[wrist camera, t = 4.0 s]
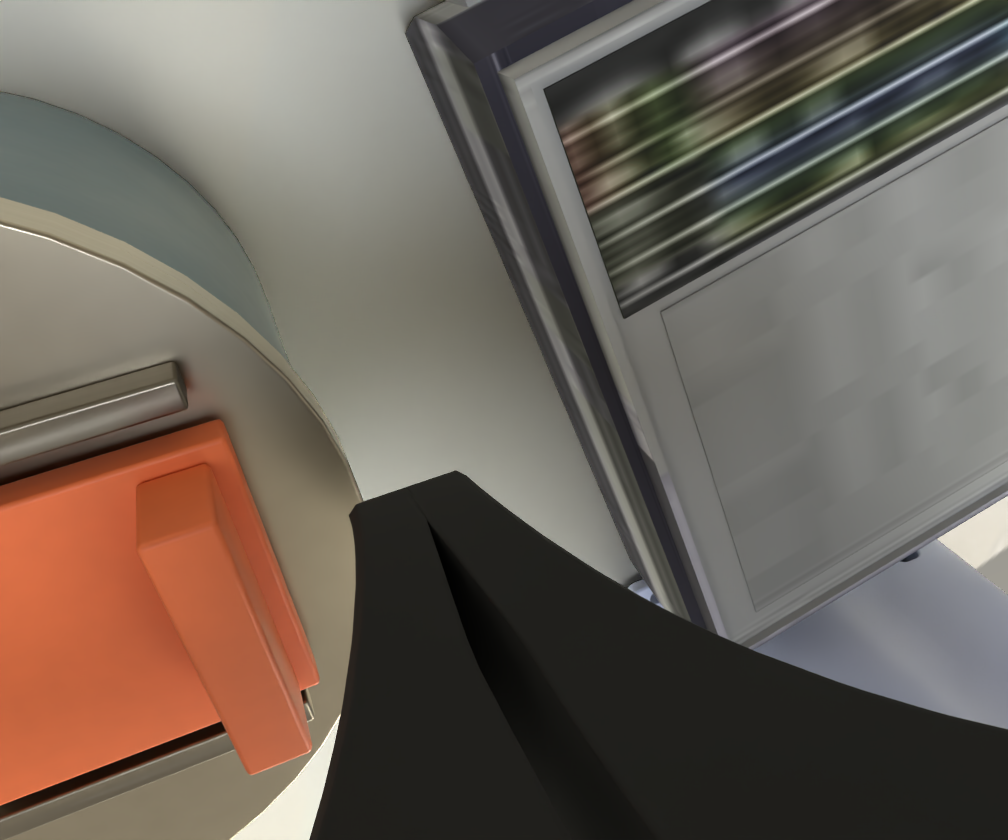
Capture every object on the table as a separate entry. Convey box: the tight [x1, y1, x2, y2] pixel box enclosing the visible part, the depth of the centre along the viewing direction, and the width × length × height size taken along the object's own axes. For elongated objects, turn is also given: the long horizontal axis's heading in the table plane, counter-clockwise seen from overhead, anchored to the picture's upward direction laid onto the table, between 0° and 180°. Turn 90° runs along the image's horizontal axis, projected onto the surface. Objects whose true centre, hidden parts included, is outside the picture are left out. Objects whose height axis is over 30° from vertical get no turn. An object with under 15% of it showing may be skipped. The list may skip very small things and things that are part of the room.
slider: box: [0, 419, 320, 805], centre depth 10 cm, size 4×4×2 cm
